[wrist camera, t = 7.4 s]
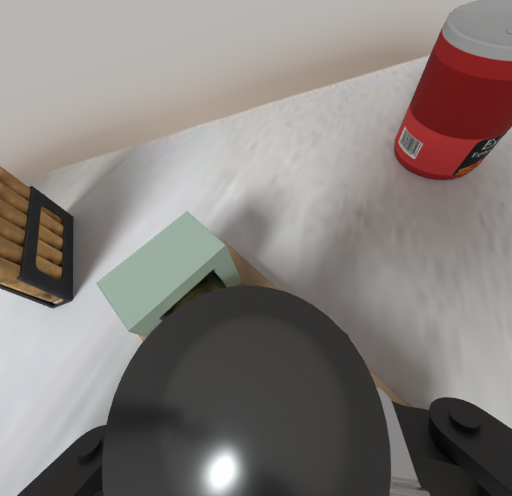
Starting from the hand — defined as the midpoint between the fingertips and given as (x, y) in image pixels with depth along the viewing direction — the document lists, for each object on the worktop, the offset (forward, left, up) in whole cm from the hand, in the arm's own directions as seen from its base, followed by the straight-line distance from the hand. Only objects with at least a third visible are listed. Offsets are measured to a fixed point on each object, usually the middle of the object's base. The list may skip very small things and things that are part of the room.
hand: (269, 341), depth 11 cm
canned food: (-2, +26, -9) cm, 27 cm away
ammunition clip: (-22, -8, -9) cm, 25 cm away
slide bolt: (-2, -1, -8) cm, 8 cm away
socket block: (-8, -1, -8) cm, 11 cm away
